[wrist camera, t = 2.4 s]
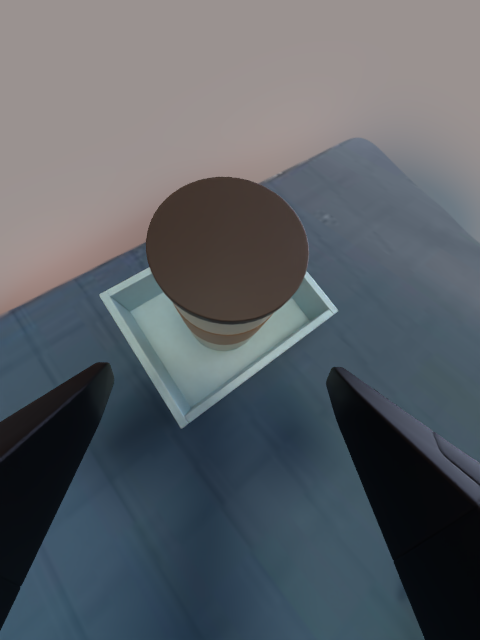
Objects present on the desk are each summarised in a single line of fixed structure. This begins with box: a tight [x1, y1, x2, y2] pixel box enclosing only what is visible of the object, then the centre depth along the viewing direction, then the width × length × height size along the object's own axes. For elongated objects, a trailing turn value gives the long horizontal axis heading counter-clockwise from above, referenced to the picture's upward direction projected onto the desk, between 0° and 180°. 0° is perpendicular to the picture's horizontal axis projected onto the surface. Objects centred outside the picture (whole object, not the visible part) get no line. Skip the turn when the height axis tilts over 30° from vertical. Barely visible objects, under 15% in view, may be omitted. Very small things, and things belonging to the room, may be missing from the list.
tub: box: [99, 267, 338, 429], centre depth 19 cm, size 15×12×4 cm
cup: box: [146, 177, 309, 351], centre depth 15 cm, size 7×7×12 cm
